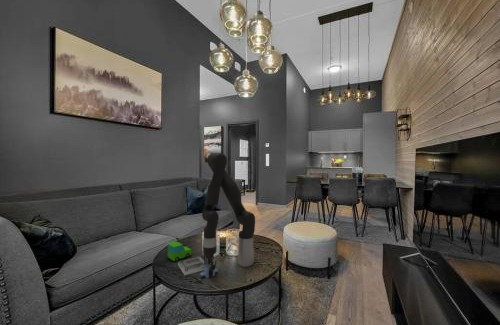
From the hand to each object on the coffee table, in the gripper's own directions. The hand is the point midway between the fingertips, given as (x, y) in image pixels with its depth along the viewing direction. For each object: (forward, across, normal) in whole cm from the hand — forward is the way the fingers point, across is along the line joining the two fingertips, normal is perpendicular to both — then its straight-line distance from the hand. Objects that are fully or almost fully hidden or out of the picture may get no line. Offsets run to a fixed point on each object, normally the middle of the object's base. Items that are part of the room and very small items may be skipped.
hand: (209, 274), depth 122 cm
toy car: (+1, +31, +8) cm, 32 cm away
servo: (0, 0, 0) cm, 0 cm away
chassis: (0, +14, +5) cm, 15 cm away
